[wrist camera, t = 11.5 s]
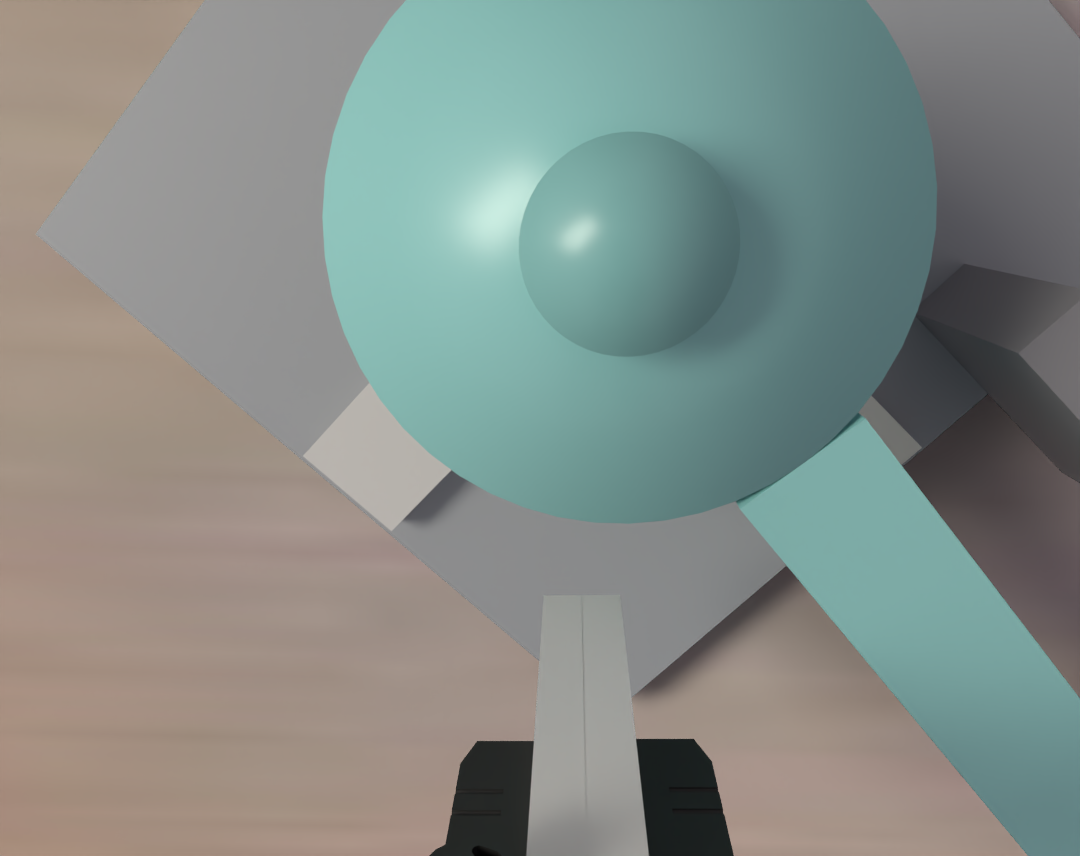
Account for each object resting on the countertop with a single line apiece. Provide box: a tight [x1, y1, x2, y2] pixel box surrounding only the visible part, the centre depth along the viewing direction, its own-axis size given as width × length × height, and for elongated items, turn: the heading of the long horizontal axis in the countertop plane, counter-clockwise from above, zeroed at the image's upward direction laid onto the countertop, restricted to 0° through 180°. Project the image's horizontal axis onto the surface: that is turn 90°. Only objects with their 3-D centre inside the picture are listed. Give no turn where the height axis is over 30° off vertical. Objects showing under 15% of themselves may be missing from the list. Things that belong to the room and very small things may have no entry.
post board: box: [36, 0, 1080, 698], centre depth 18 cm, size 20×23×6 cm
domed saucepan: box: [322, 0, 1080, 856], centre depth 16 cm, size 22×9×7 cm, turn 40°
